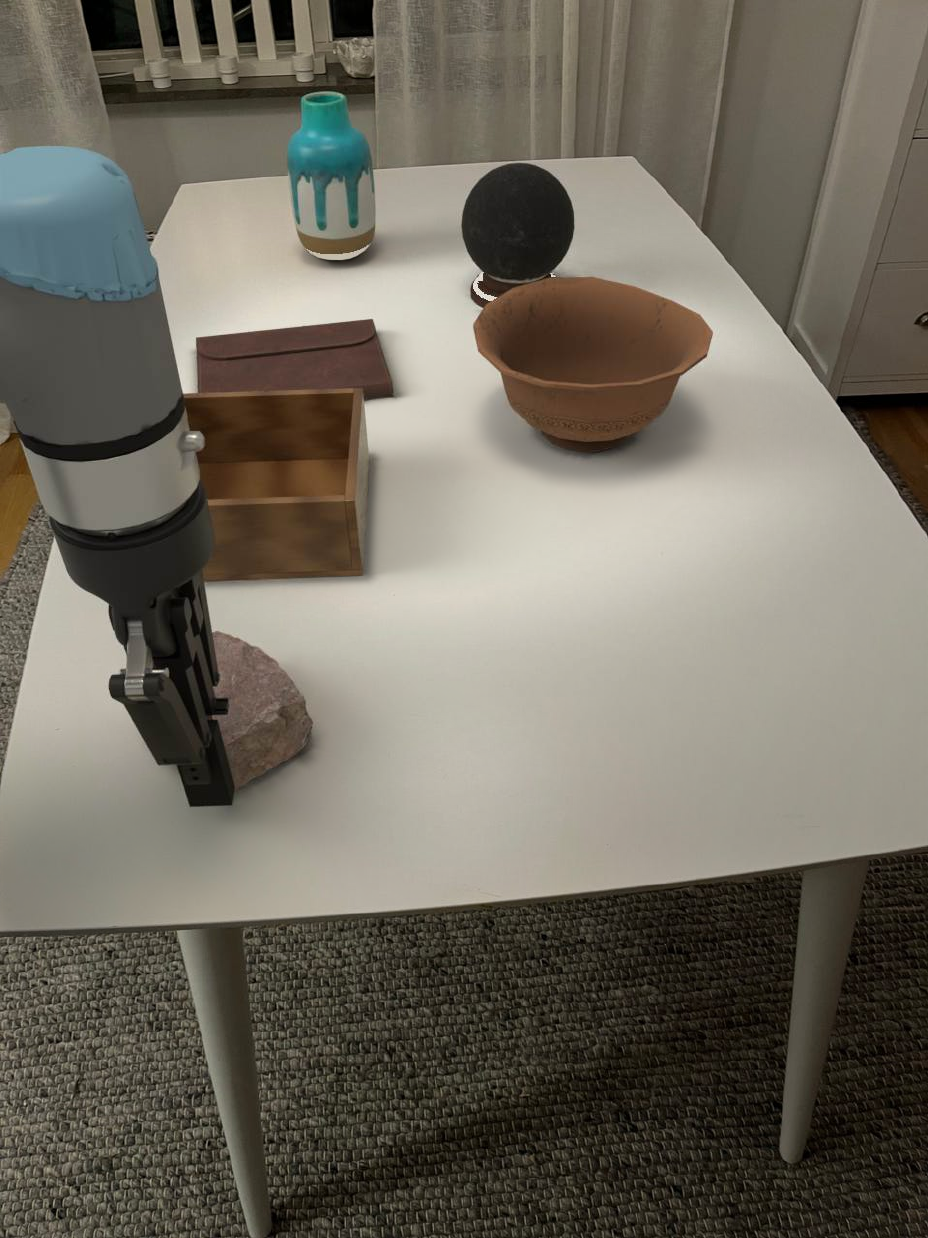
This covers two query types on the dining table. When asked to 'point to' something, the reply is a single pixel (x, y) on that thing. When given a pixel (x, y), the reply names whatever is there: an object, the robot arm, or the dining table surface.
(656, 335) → the bowl
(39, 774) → the dining table surface
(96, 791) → the dining table surface
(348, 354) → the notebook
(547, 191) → the black ball on stand
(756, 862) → the dining table surface
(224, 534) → the box
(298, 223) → the vase
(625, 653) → the dining table surface
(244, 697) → the stone
